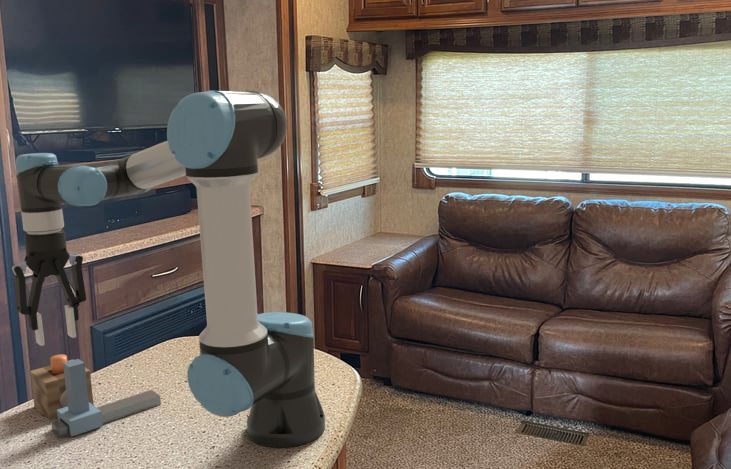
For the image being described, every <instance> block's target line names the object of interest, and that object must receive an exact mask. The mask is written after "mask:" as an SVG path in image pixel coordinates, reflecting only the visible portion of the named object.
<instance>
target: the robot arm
mask: <svg viewBox="0 0 731 469" xmlns="http://www.w3.org/2000/svg"><path fill="white" fill-rule="evenodd" d="M166 127H167V129H166V137H167V138H166V139H167V140H166V141H163V142H160V143H157V144H155V145H153V146H150V147H148V148H145V149H143V150H140V151H138V152H135V153H133V154H131V155H128V156H125V157H123V158H119V159H114V160H108V161H99V162H98V161H97V162H89V163H81V164H71V165H69V164H68V165H67V164H65V165H63V164H59V162H58V159H57V158H58V157H57V155H56V154H54V153H52V152H37V153H35V152H33V153H26V154H23V153H22V154H19V155H18V156H17V157H16V159H15V168H16V170H15V171H16V174H15V177H16V182H17V183H16V184H17V191H18V197H19V204H20V212H21V221H22V230H23V231H24V232H25V233H24V235H23V238H24V240H23V241H24V248H25V253H26V254H25V258H24V260H23V261H22V262H20V263H18V264H12V265H11V266H10V270H11V272H12V274H13V276H14V286H15V288H14V289H15V300H16V302H15V303H16V310H17V312H18V313H20V314H21V315H22V316H23V315H27V318H28V319H27V320H28V325H29V326H28V327H29V329H30V330H32V331H34V333H35V343H36V344H38V345H39V346H40V347H43V346H45V345H46V344H45V334H44V326H43V318H42V316H43V315H42V313H40V312H38V309H39V305H40V298H41V295H42V294H41V293H42V289H43V283H44V282H45V278H47V277H49V276H55V277H56V279H57V281H58V284H59V285H60V288H61V290H62V293H63V295H64V297H65V299H66V301H67V303H68V304H66V305H64V312H65V322H66V330H67V336H69V337H70V338H71V339H75V338H77V331H76V321H78V320H79V318H80V316H79V306H80V304H81V303H82V302H86V300H87V294H86V293H87V292H86V287H85V281H84V274H83V268H82V267H83V266H82V265H83V262H84V257H83V256H82V255H81V254H76V253H74V254H72V253H71V254H70V253H69V251H68V250H67V240H66V239H67V238H66V232H65V231H64V230H63V228H64V227H65V221H64V213H63V205H68V206H69V205H70V206H76V207H91V206H95V205H97V204H99V203H101V201H105V200H110V199H114V198H115V199H116V198H121V197H126V196H127V197H128V196H137V195H140V194H144V193H147V192H149V191H151V190H152V189H153V187H157V186H159V185H162V184H165V183H168V182H171V181H173V180H178V179H179V178H182V177H186V179H187V180H189V181H190V183H192V184H193V185H194V186H195V189H196V197H197V198H196V199H197V200H196V201H197V208H198V209H197V210H198V223H199V237H200V249H201V261H202V262H201V263H202V274H203V276H202V277H203V290H204V301H205V302H204V303H205V312H206V313H205V314H206V327H205V328H204V329H203V330H202V331H201V333H200V334H199V335H198V339H199V340H198V343H199V355H197V356H195V357H194V358H193V359H192V361H191V363H190V364H189V365H188V367H187V375H186V378H187V382H188V386H189V390H190V392H191V393H192V395H193V397H194V399H195V400H196V401H197V402H198V403H199V404H200V405H201V407H202V408H204V409H205V410H206V411H207V412H209V413H210V414H213V415H214V416H217V417H222V418H229V417H234V416H236V415H238V414H240V413H241V412H247V410H249V409H250V410H249V414H248V416H247V420H246V433H247V436H248V437H249V439H250V440H251V441H253V442H254V443H256V444H258V445H261V446H265V447H270V448H291V447H297V446H302V445H305V444H308V443H311V442H313V441H314V440H316V439H318V438H320V436H321V435H323V433H324V431H325V429H326V416H325V413H324V410H323V407H322V404H321V402H320V399H319V397H318V394H317V390H316V384H315V382H316V381H315V376H316V375H315V353H314V351H315V348H314V343H315V342H314V339H315V335H314V329H313V322H312V321H311V320H310V318H308V316H306V315H303V314H299V313H293V312H286V311H285V312H283V311H280V312H279V311H278V312H277V311H276V312H274V311H272V312H271V311H270V312H263V313H258V302H257V301H258V300H257V286H256V285H257V283H256V282H257V281H256V267H255V265H256V264H255V250H254V238H253V237H254V236H253V235H254V234H253V221H252V220H253V219H252V202H251V187H250V186H251V182H252V181H253V180H255V178H256V177H257V176H258V175H259V168H258V167H259V166H258V162H259V161H258V159H262V158H266V157H268V156H271V155H272V154H274V153H275V152H276V151H277V150H279V149H280V147H281V146H282V144H283V143H284V141H285V138H286V137H287V130H288V121H287V117H286V113H285V111H284V109H283V108H282V106H281V105H280V103H279V102H278V101H277V100H276V99H275V98H273V97H272V96H271V95H269V94H267V93H265V92H261V91H258V90H237V91H236V90H233V91H232V90H212V89H210V90H207V91H201V92H194V93H190V94H188V95H186V96H185V97H183V98H182V99H180V100H179V101H178V102H177V105H176V106H175V107H173V109H172V111H171V113H170V116H169V119H168V122H167V126H166ZM68 261H69V264H70V266H71V267H70V268H71V272H72V273H71V274H72V280H73V286H74V290H75V291H74V290H73V288H72V286H71V283H70V281H69V279H68V277H67V273H66V271H65V266H66V265H67V263H68ZM27 268H28V269H29V270H30V271H31V272H32V276H31V279H32V280H31V281H32V282H31V287H30V291H29V297H28V298H27V285H26V276H25V274H26V273H27Z"/></svg>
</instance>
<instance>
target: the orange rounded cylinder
mask: <svg viewBox="0 0 731 469" xmlns="http://www.w3.org/2000/svg"><path fill="white" fill-rule="evenodd" d="M49 360H50V365H51V370H52V374H54V375H59V374H63V373H64V367H63V363H65V362H67V361H68V356H67V355H66V354H54V355H52V356H51V357H49Z"/></svg>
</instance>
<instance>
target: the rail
mask: <svg viewBox="0 0 731 469" xmlns="http://www.w3.org/2000/svg"><path fill="white" fill-rule="evenodd" d="M159 405H162V402H161V395H160V394H159V393H157V392H156V391H154V390H152V389H150V390H146V391H143V392H140V393H137V394H134V395H131V396H128V397H125V398H122V399H119V400H116V401H113V402H112V401H111V402H109V403H106V404H104V405H99V406H97V407H96V408H98V409H99V410H100V411H101V414H102V425H104V424H106V423H107V424H108V423H110V422H112V421H116V420H119V419H122V418H124V417H128V416H130V415H133V414H137V413H139V412H142V411H145V410H148V409H151V408H153V407H157V406H159ZM51 431H52V433H53V434H54V435H56V437H58V438H59V439H60V440H61V439H63V438H66V437H69V436H70V437H71V435H70V431H69V425H68V424H67V423H66V422H64V421H63V420H62V419H60V420H58V419H57V420H54V421H52V422H51Z"/></svg>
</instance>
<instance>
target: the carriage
mask: <svg viewBox="0 0 731 469" xmlns="http://www.w3.org/2000/svg"><path fill="white" fill-rule="evenodd" d="M71 360H72V359H71ZM68 361H69V360H68ZM85 364H86V363H85V361H83V360H81V359H80V358H76V359H74V360H72V361H69V362H65V363H63V367H64V376H65V385H66V394H67V403H68V407H64V408H61V409H58V410H57V416H58V418H57V420H60V419H62V420H63V421H64V422H66V423H67V424H68V425H69V431H70V437H74V436H78V435H81V434H83V433H86V432H89V431H93V430H95V429H96V430H97V429H98V428H100V427H103V426H104V424H102V414H101V411H100V410H99V409H98V408H97V407H96V406H95V404H94V405H92V404H91V403H90V402H89V400H88V391H87V381H86V372H85V367H86V365H85Z"/></svg>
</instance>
